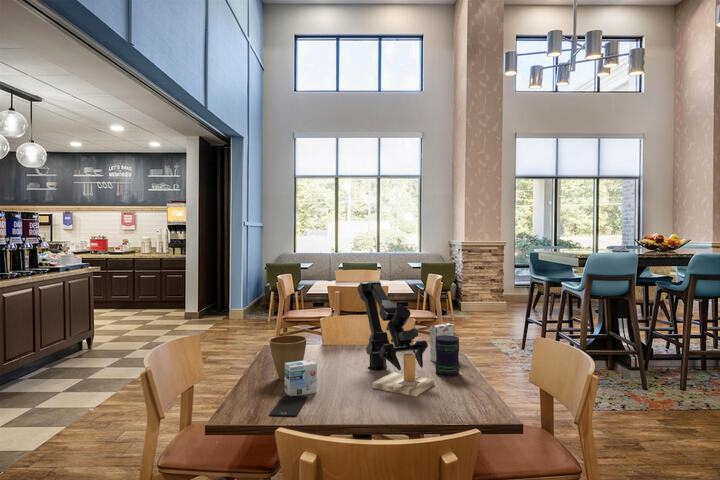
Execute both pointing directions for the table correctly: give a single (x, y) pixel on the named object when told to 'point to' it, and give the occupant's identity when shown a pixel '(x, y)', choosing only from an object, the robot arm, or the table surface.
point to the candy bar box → (439, 331)
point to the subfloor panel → (396, 384)
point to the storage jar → (447, 356)
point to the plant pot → (287, 351)
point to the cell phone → (288, 406)
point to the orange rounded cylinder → (409, 370)
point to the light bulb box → (300, 377)
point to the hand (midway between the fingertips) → (411, 368)
